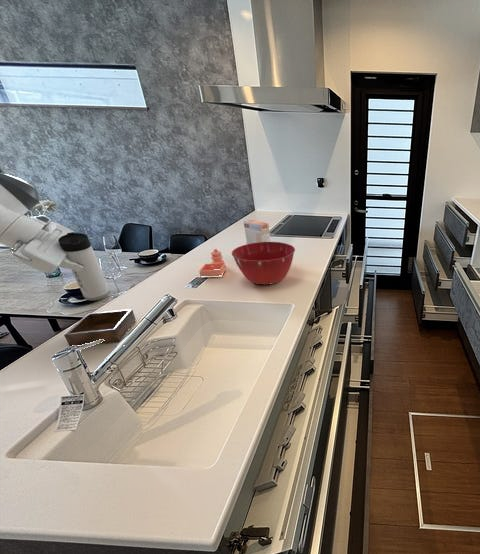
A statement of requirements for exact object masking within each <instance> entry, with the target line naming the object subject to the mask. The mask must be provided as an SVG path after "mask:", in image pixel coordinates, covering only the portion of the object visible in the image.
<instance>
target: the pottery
mask: <svg viewBox="0 0 480 554" xmlns="http://www.w3.org/2000/svg"><path fill="white" fill-rule="evenodd" d="M210 255H211V257H210V258H211V260H212V261H211V263H204V264H203V265H202V267H201V268H200V269H199V276H200V278H201V276H219V275H222V273H223V272H224V270H225V268H226V262H225V261H224V260H223V255H222V252H221V251H220V250H218V249H217V248H214V249H213V250H212V251H211V252H210ZM214 269H220V270H214Z"/></svg>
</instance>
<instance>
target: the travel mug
mask: <svg viewBox="0 0 480 554" xmlns="http://www.w3.org/2000/svg"><path fill="white" fill-rule="evenodd" d="M58 242H59V244H60V246H61V247H62V249H63V250H64V251H65V252H66V253H67V255H66V257H65V259H67V260H69V262H73V263H80V264H83V265H84V268H83V269H82V270H81V271H80V272H78V271H76V270H73V269H70V270H71V273H72V274H73V277H74V279H75V281H76V283H77V285H78V288H79V289H80V292H81V294H82V296H83V298H84V299H85V300H86V301H99V300H102V299H105V298H107V297H108V296H109V295H110V294H111V291H110V288H109V285H108V283H107V280H106V277H105V274H104V273H103V270H102V269H101V266H100V262H99V260H98V258H97V256H96V253H95V251H94V248H93V246H92V243H91V241H90V239H89V237H88V235H87V234H86V233H81V232H75V231H74V232H71V233H67V235H64V236H62V237H60V238H59V239H58Z"/></svg>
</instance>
